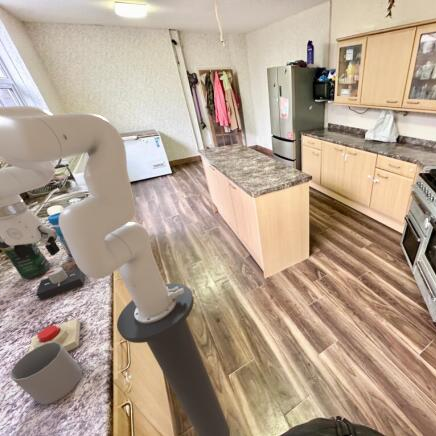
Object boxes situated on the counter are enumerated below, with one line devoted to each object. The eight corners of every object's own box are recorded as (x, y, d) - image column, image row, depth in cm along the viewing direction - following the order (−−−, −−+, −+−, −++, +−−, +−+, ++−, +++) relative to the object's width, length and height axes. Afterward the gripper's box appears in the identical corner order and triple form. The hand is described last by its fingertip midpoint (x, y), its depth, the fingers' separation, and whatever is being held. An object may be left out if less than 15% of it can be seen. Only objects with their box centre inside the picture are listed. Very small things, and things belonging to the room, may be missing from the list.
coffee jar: (47, 274, 95) (19, 235, 86) (20, 282, 91) (-11, 242, 83) (53, 262, 102) (28, 225, 94) (28, 269, 99) (0, 231, 90)
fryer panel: (84, 272, 94) (80, 266, 93) (83, 284, 88) (79, 278, 86) (45, 286, 88) (40, 280, 87) (40, 300, 82) (35, 294, 80)
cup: (83, 360, 62) (64, 335, 57) (80, 388, 55) (58, 363, 51) (41, 380, 57) (16, 356, 53) (32, 413, 51) (3, 388, 47)
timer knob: (68, 273, 89) (62, 265, 87) (67, 279, 86) (61, 270, 84) (53, 278, 87) (46, 270, 85) (51, 285, 84) (44, 276, 82)
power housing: (80, 322, 72) (74, 313, 71) (78, 346, 65) (71, 337, 63) (37, 341, 67) (28, 332, 65) (29, 369, 60) (20, 360, 58)
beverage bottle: (81, 259, 103) (57, 219, 93) (63, 259, 103) (38, 220, 94) (96, 248, 110) (75, 210, 101) (80, 248, 111) (57, 211, 101)
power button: (60, 326, 67) (57, 322, 66) (59, 336, 64) (55, 332, 63) (42, 334, 65) (38, 330, 64) (39, 345, 62) (35, 341, 61)
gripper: (-36, 218, 67) (3, 264, 75) (28, 211, 69) (59, 258, 76) (-9, 207, 74) (24, 251, 82) (48, 201, 75) (75, 245, 83)
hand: (41, 254), depth 79 cm, fingers open, 9 cm apart
